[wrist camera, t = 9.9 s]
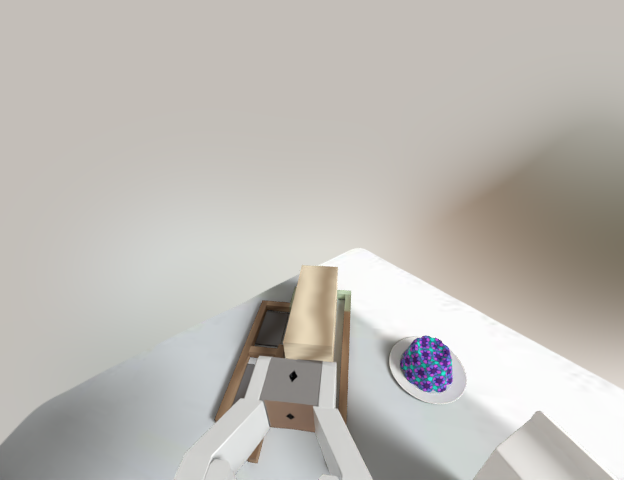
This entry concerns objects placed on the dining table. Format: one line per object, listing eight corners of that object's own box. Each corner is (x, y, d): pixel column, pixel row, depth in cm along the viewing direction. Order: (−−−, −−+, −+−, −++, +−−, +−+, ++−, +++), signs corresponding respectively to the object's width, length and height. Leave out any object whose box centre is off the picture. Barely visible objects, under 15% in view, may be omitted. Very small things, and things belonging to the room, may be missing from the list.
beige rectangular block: (288, 381, 45) (283, 342, 40) (304, 301, 60) (302, 265, 55) (331, 386, 44) (332, 346, 39) (336, 304, 59) (337, 267, 54)
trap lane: (205, 454, 37) (202, 449, 36) (269, 289, 64) (268, 284, 63) (344, 477, 34) (344, 472, 34) (350, 296, 61) (351, 290, 60)
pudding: (387, 334, 53) (391, 315, 50) (456, 344, 50) (464, 325, 47) (389, 398, 43) (393, 378, 40) (474, 414, 40) (485, 394, 38)
